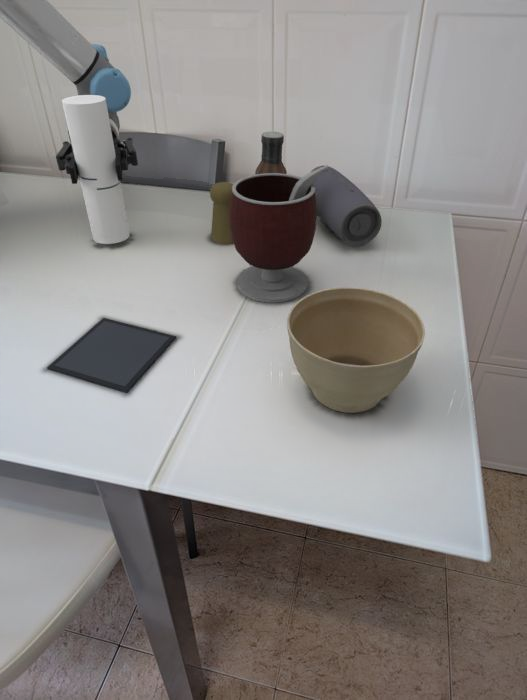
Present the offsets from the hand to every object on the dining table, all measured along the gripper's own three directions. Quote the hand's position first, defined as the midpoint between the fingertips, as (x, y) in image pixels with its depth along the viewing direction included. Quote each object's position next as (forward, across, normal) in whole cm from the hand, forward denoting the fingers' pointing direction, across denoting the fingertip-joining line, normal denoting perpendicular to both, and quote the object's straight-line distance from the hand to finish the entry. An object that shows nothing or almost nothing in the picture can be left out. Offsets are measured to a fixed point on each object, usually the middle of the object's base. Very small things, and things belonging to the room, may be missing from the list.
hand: (96, 174), depth 87 cm
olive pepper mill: (-1, -23, -15) cm, 27 cm away
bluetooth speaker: (-1, -46, -15) cm, 49 cm away
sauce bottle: (0, -31, -15) cm, 35 cm away
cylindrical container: (-5, 0, -14) cm, 15 cm away
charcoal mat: (+32, -1, -15) cm, 36 cm away
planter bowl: (+47, -31, -15) cm, 58 cm away
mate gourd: (+19, -28, -15) cm, 37 cm away
